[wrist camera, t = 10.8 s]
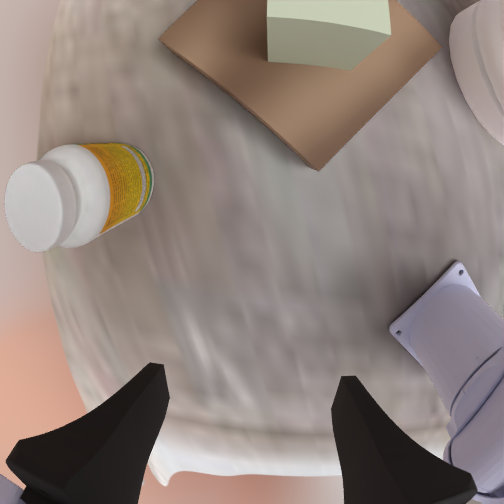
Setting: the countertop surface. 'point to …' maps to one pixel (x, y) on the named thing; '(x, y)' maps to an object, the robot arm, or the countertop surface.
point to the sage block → (326, 31)
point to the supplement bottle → (76, 194)
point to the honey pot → (481, 62)
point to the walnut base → (297, 74)
